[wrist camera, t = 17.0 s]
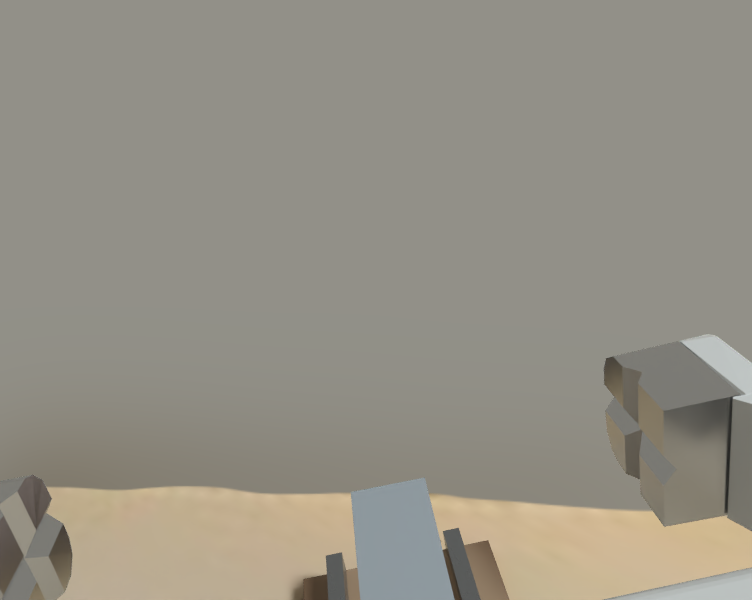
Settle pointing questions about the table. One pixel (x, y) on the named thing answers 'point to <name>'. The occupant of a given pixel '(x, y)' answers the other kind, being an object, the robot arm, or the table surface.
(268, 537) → the table surface
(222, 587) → the table surface
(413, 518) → the tall grey rectangular block
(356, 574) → the track board
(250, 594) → the table surface
